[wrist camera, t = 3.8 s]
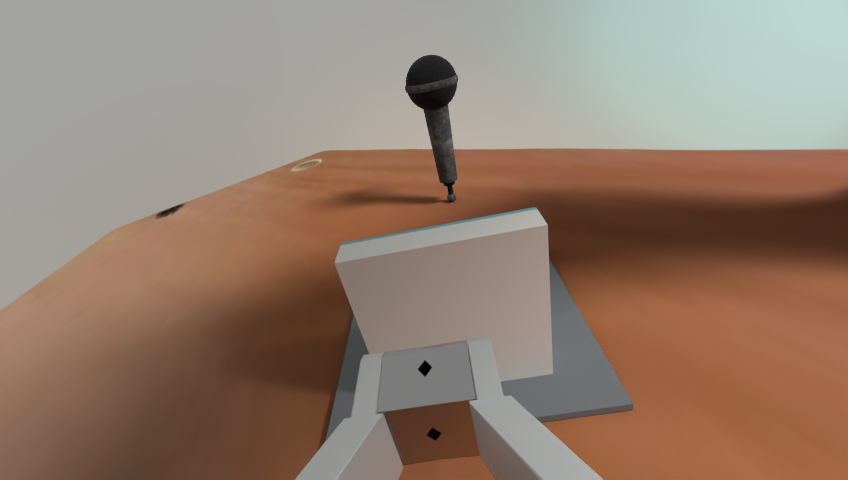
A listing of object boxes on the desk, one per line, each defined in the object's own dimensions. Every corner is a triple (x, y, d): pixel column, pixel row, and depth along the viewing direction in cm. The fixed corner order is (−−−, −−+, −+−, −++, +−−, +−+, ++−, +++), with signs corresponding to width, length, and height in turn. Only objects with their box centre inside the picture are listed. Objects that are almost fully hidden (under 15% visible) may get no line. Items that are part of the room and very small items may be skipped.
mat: (632, 410, 23) (633, 403, 23) (327, 451, 25) (324, 446, 24) (545, 256, 39) (545, 251, 38) (361, 288, 40) (360, 284, 40)
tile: (553, 373, 26) (547, 224, 20) (386, 398, 27) (334, 263, 21) (543, 349, 28) (535, 206, 22) (388, 372, 29) (341, 243, 23)
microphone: (426, 198, 58) (397, 60, 48) (468, 187, 58) (447, 48, 49) (434, 216, 52) (402, 63, 42) (480, 204, 52) (459, 49, 43)
